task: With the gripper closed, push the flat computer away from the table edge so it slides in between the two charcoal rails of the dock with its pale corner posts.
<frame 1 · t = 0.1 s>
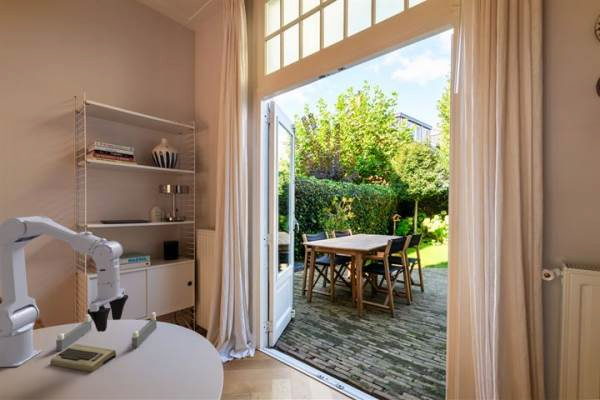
hand: (109, 325, 87), 10 cm above the table, tool pointing down, fingers open, 7 cm apart
dock: (110, 338, 98), on the table
computer: (84, 362, 85), on the table
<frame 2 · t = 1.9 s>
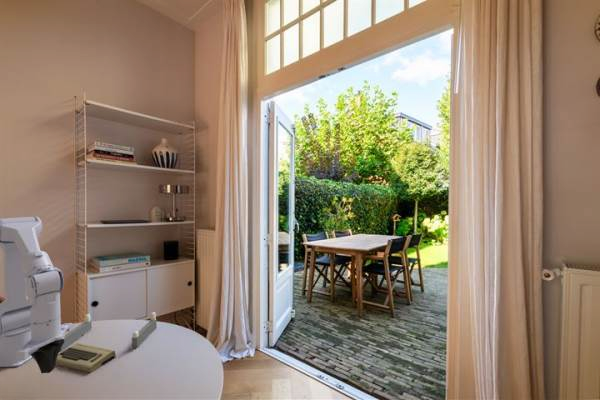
hand: (47, 371, 72), 5 cm above the table, tool pointing down, fingers closed
nothing on the table moved.
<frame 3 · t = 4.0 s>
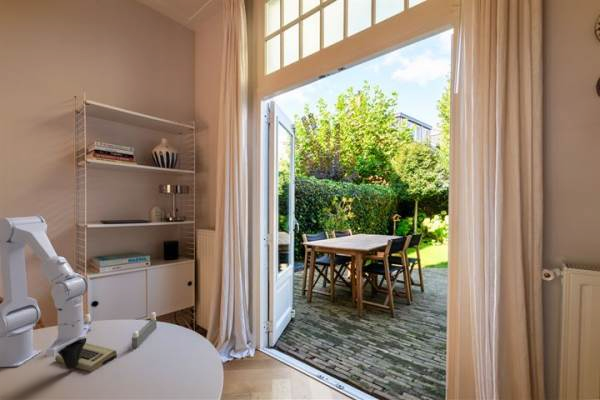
hand: (72, 367, 81), 1 cm above the table, tool pointing down, fingers closed
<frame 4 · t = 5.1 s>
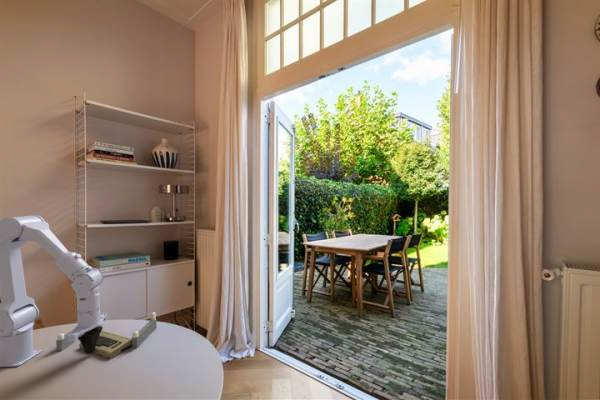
hand: (89, 352, 88), 1 cm above the table, tool pointing down, fingers closed
computer: (107, 348, 93), on the table
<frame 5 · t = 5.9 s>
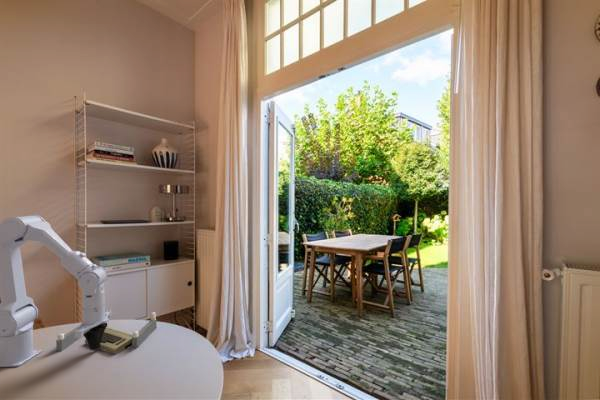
hand: (95, 348, 90), 1 cm above the table, tool pointing down, fingers closed
computer: (111, 345, 95), on the table
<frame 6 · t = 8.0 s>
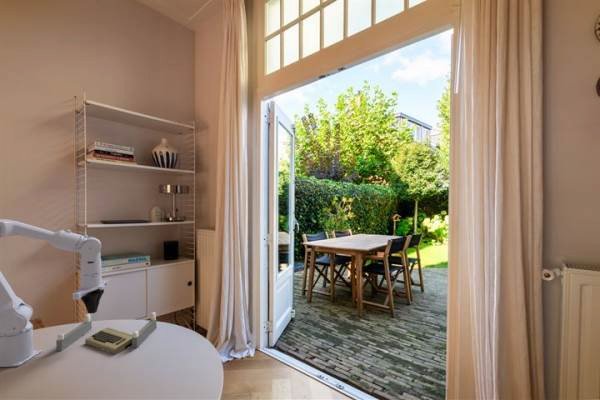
hand: (92, 312, 96), 10 cm above the table, tool pointing down, fingers closed
nothing on the table moved.
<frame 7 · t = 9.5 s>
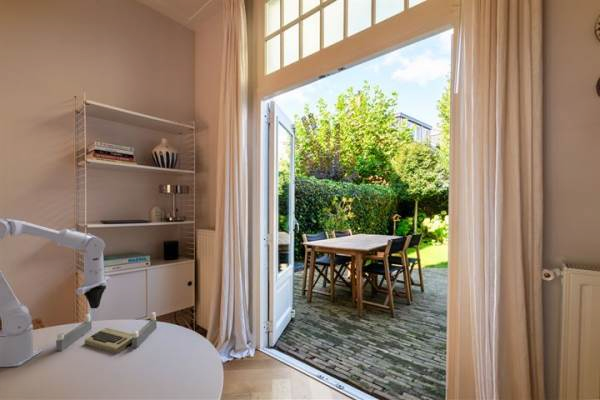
hand: (94, 307, 101), 10 cm above the table, tool pointing down, fingers closed
nothing on the table moved.
at the end: computer inside the target area (3.0 cm from its centre), on the table; computer moved 10.2 cm from its start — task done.
